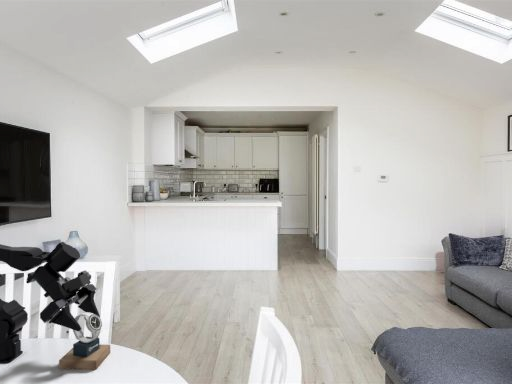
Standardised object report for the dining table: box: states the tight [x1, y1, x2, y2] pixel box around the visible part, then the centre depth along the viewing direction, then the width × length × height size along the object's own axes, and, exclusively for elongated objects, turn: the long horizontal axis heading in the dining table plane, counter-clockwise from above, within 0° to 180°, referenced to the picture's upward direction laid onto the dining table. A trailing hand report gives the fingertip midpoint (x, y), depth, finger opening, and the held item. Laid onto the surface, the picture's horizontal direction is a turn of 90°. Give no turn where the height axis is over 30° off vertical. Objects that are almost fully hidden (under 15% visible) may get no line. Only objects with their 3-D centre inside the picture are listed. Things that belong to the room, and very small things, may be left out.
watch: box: [72, 311, 103, 357], centre depth 110 cm, size 6×8×11 cm
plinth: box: [58, 344, 111, 371], centre depth 111 cm, size 10×10×2 cm
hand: (89, 323), depth 110 cm, fingers open, 9 cm apart
